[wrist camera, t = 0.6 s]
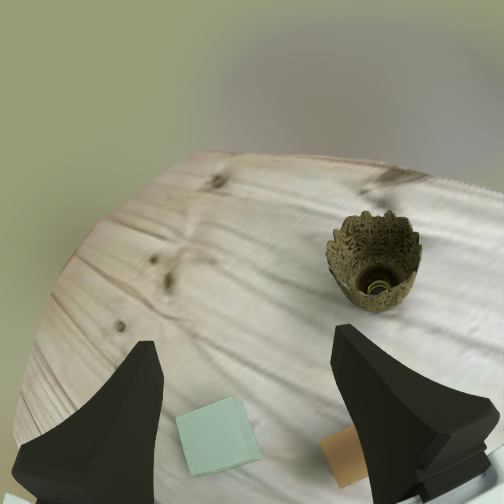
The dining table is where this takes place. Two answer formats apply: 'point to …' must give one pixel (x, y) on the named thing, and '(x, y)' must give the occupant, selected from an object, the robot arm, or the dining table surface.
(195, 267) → the dining table surface
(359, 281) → the cup
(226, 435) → the mint green base block
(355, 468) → the walnut block
